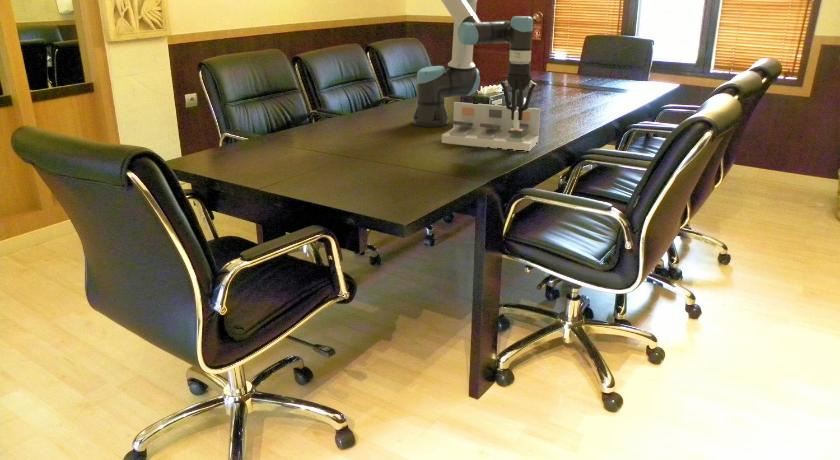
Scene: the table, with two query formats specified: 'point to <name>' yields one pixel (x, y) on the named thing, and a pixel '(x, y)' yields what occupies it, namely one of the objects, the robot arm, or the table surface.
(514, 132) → the switch
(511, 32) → the robot arm
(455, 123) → the switch
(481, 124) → the switch
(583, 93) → the table surface
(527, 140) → the switch unit
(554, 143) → the table surface
